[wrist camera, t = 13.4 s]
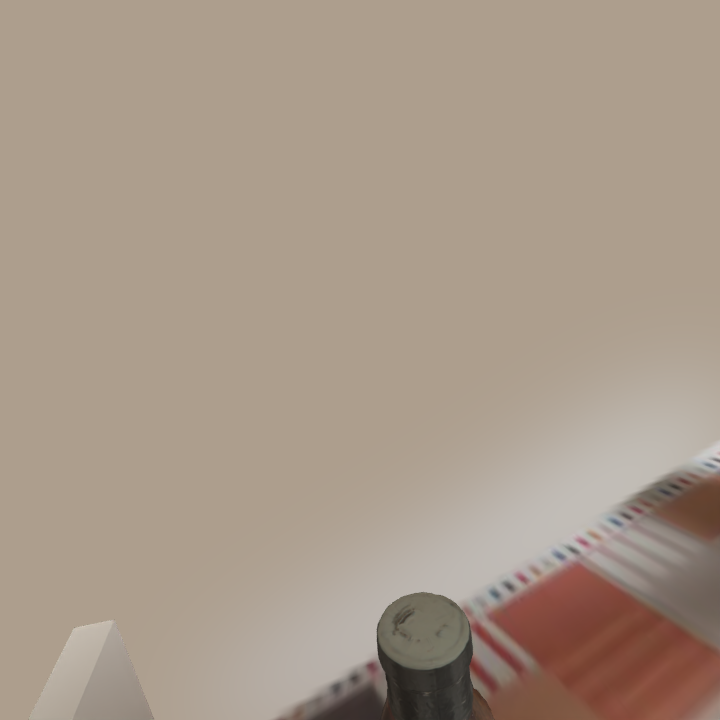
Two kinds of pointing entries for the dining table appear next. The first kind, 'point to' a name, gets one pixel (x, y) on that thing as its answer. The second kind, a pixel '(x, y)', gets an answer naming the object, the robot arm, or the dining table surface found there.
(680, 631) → the dining table surface
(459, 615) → the sauce bottle
